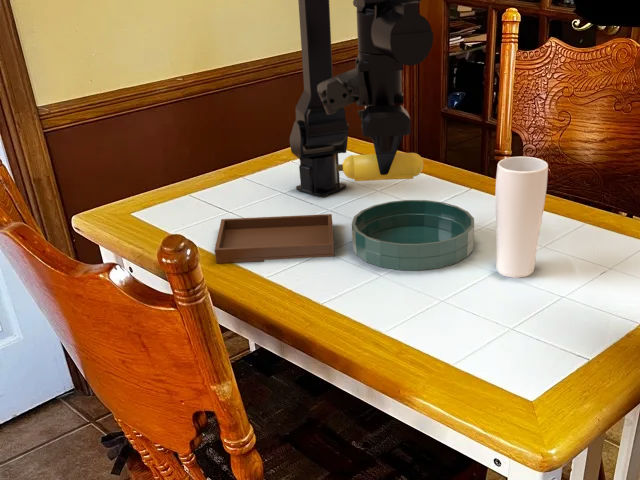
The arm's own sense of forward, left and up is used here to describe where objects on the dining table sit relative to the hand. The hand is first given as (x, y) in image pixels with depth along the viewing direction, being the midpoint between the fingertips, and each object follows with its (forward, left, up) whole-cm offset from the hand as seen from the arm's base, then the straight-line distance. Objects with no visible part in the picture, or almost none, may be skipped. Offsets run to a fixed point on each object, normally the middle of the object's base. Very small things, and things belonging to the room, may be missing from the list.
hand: (382, 170), depth 120 cm
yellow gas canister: (0, 0, -1) cm, 1 cm away
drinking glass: (-4, +21, -12) cm, 24 cm away
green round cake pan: (-2, +4, -11) cm, 12 cm away
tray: (+10, -13, -11) cm, 20 cm away
